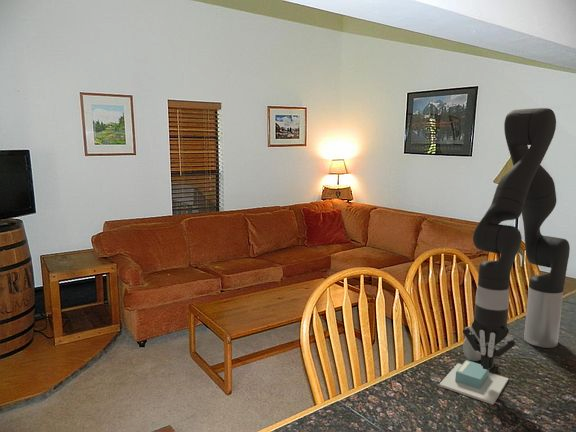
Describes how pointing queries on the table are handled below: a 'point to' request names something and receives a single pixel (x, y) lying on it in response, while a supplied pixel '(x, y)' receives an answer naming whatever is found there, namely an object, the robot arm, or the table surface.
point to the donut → (471, 350)
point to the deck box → (471, 374)
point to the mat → (485, 393)
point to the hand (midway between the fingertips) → (486, 368)
